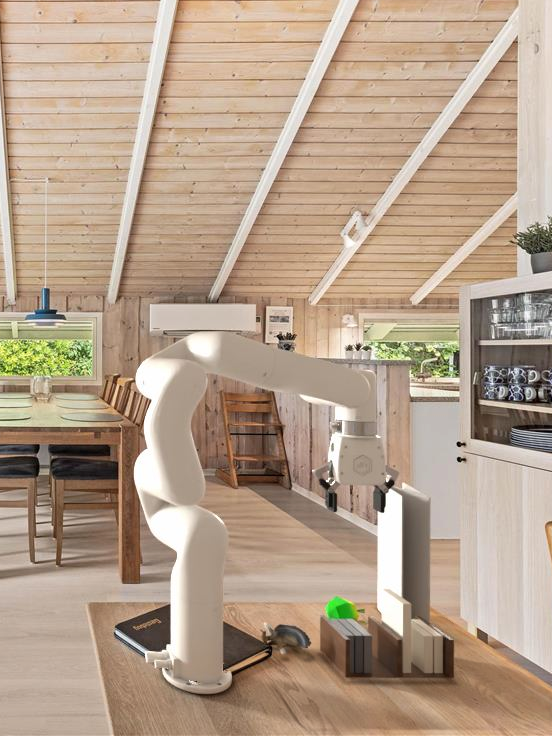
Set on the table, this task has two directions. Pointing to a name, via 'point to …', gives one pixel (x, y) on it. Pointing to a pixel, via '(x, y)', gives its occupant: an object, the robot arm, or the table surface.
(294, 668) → the table surface
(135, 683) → the table surface
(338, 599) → the apple
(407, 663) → the white book
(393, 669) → the book rack
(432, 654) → the white books
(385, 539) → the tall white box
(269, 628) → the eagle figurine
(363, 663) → the grey books
